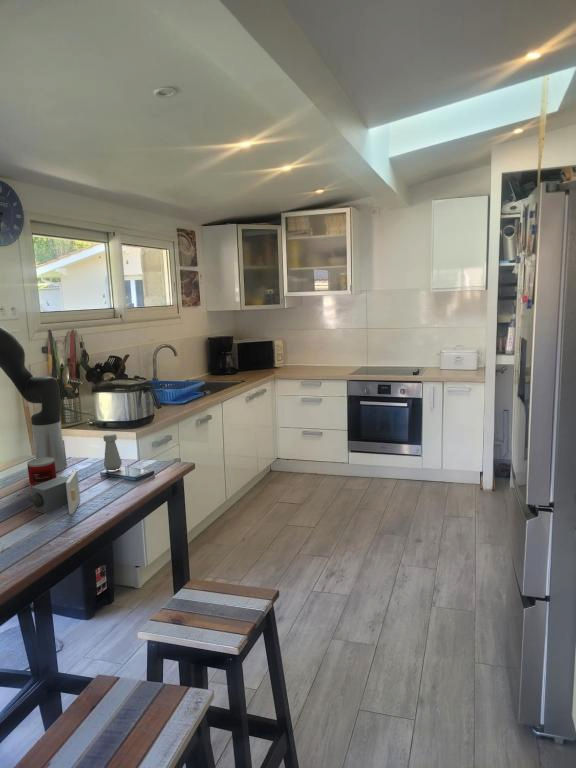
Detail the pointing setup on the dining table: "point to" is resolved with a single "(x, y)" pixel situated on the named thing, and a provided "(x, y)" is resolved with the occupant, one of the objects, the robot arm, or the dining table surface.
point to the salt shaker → (111, 453)
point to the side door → (73, 492)
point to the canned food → (41, 470)
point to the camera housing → (50, 495)
